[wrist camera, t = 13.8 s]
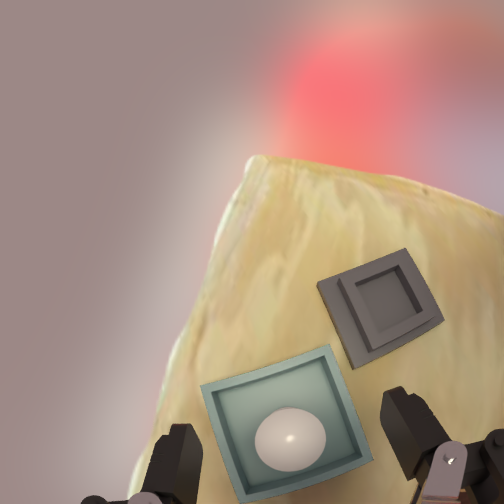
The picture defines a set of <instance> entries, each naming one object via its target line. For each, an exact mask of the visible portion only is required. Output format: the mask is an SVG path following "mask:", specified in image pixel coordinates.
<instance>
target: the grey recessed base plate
mask: <svg viewBox="0 0 504 504" xmlns="http://www.w3.org/2000/svg"><path fill="white" fill-rule="evenodd" d="M317 288H318V290H319V292H320V294H321V297H322V299H323V301H324V303H325V306H326V308H327V310H328V312H329V315H330V317H331V319H332V322H333V324H334V326H335V329H336V331H337V333H338V336H339V338H340V340H341V343H342V345H343V348H344V350H345V352H346V355H347V357H348V360H349V362H350V365H351V367H352V370H353V369H356V368H358V367H360V366H362V365H364V364H366V363H369V362H371V361H373V360H375V359H377V358H379V357H381V356H383V355H385V354H387V353H389V352H391V351H393V350H394V349H396V348H398V347H400V346H402V345H404V344H406V343H407V342H409V341H411V340H413V339H415V338H416V337H418V336H420V335H422V334H423V333H425V332H427V331H428V330H430V329H432V328H433V327H435V326H437V325H438V324H440V323H441V322H443V321H444V320H445V319H444V317H443V315H442V313H441V311H440V309H439V307H438V305H437V303H436V301H435V299H434V297H433V295H432V293H431V291H430V290H429V288H428V286H427V284H426V282H425V280H424V279H423V277H422V275H421V273H420V271H419V270H418V268H417V266H416V264H415V263H414V261H413V259H412V258H411V256H410V254H409V253H408V251H407V249H406V248H404V249H401V250H399V251H396V252H394V253H391V254H389V255H386V256H384V257H381V258H379V259H376V260H374V261H371V262H369V263H366V264H364V265H361V266H359V267H356V268H353V269H351V270H348V271H345V272H343V273H340V274H337V275H335V276H332V277H329V278H327V279H324V280H321V281H318V282H317Z"/></svg>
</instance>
